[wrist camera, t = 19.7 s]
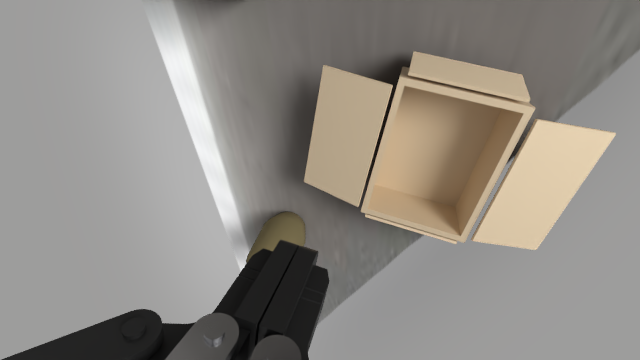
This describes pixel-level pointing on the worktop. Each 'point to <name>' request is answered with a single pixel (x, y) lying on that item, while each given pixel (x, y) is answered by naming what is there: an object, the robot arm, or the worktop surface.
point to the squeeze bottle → (279, 232)
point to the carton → (445, 145)
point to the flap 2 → (541, 183)
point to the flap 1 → (345, 132)
